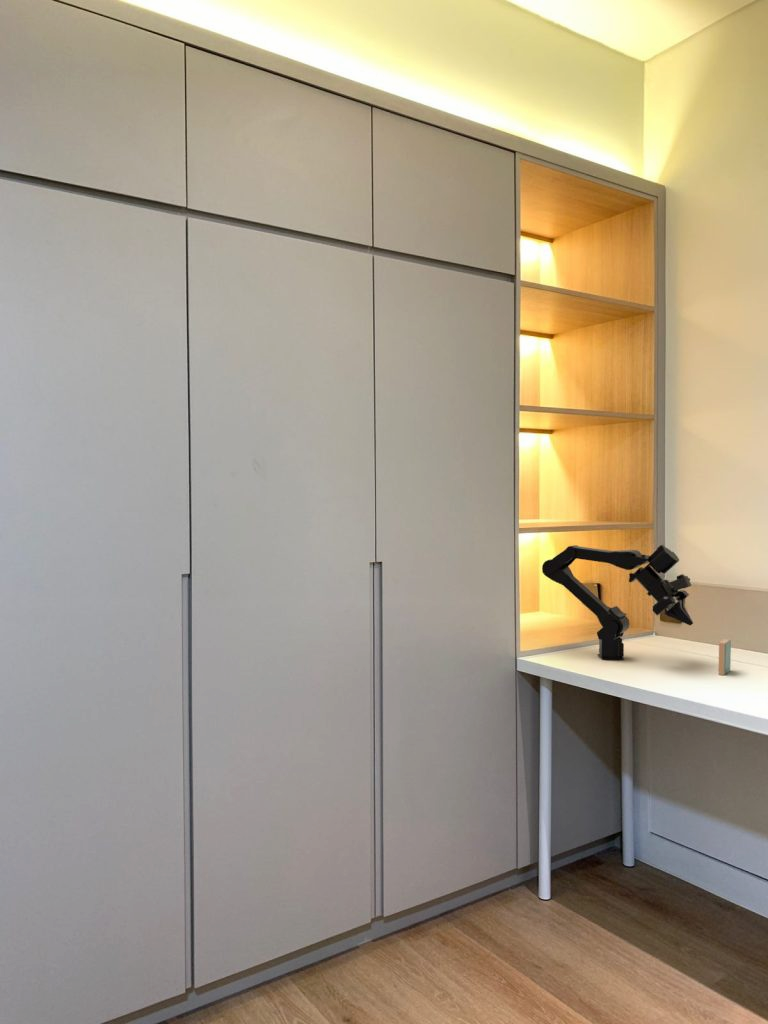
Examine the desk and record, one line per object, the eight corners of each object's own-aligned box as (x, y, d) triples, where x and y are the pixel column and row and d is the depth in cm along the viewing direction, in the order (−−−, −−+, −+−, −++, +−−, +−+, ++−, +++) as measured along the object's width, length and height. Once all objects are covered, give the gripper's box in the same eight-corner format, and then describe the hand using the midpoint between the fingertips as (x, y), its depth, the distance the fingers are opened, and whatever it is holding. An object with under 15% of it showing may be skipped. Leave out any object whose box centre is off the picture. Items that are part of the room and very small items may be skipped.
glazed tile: (718, 674, 217) (719, 642, 217) (724, 669, 223) (724, 638, 223) (724, 675, 216) (725, 643, 216) (730, 670, 222) (731, 639, 222)
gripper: (664, 568, 220) (704, 610, 214) (682, 563, 235) (720, 602, 229) (636, 594, 225) (675, 636, 219) (655, 587, 240) (692, 626, 234)
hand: (691, 624), depth 225 cm, fingers closed
